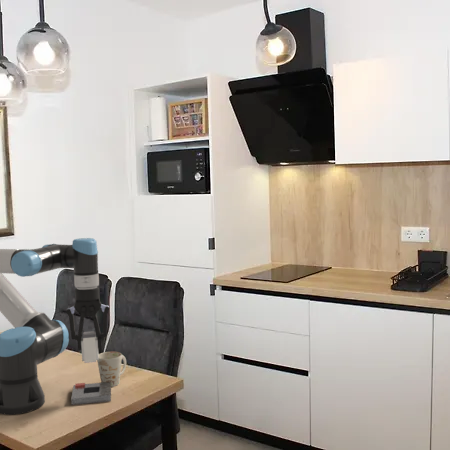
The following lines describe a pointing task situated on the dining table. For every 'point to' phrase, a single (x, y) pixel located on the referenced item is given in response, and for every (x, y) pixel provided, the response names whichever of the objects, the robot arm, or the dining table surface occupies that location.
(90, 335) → the plug
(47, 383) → the dining table surface
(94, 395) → the socket plate
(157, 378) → the dining table surface
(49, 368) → the dining table surface
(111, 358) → the mug
